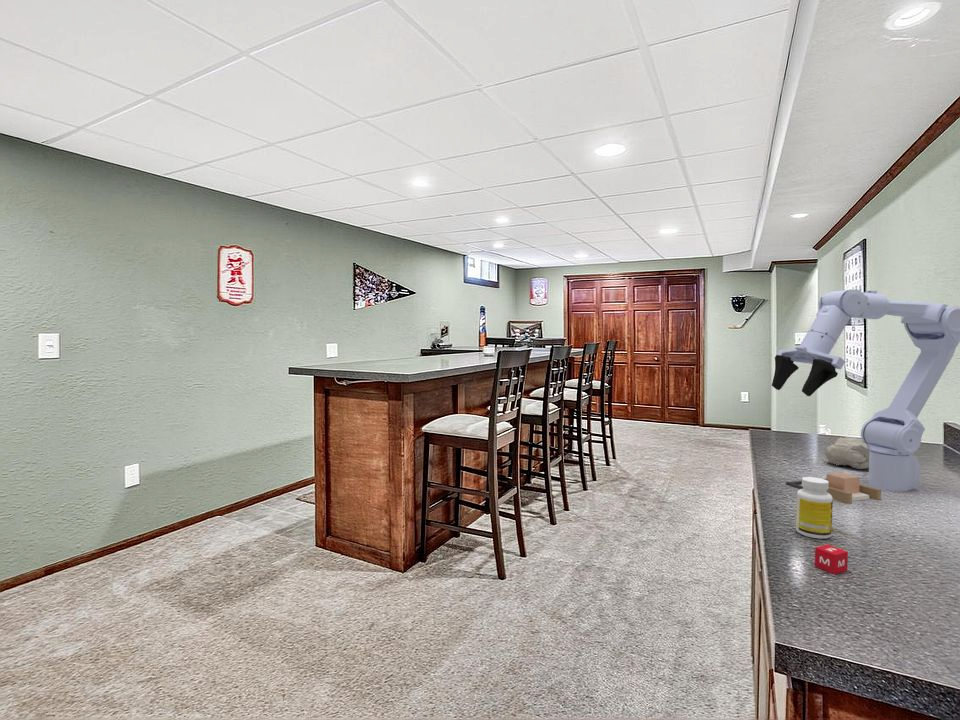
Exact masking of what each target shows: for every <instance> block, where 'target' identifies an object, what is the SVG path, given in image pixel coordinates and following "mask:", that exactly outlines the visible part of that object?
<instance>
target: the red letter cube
mask: <svg viewBox="0 0 960 720" xmlns="http://www.w3.org/2000/svg"><path fill="white" fill-rule="evenodd" d="M814 552H815V553H814V567H816V568H818V569H821V570H823V571H825V572H828V573H830V574H832V575H838V574H841V573H845V572H848V567H849V566H848V563H849V562H848V561H849V558H848V557H849V552H848V551H847V550H844V549H841V548H838V547H836V546H833V545H830V544H824V545H820V546H816V547H814Z"/></svg>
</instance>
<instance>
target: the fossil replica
mask: <svg viewBox="0 0 960 720" xmlns="http://www.w3.org/2000/svg"><path fill="white" fill-rule="evenodd" d="M869 452H870V449H867V445H866V444H865V443H864V442H863V440H854V439H849V438H845V437H839V438H837V439H836V441H835V442H834V444H832V445H828V446H827V447H826V448H825V451H824V455H825V457H826V459H827V460H828V462H829V463H831V464H832V463H833V464H832V465H835V464H837V465H836V466H839V465H843V466H845V467H846V466H850V467H852V468H853V469H855V468H856V469H855V470H865V469H869ZM843 466H842V467H843Z"/></svg>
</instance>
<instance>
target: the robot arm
mask: <svg viewBox="0 0 960 720" xmlns="http://www.w3.org/2000/svg"><path fill="white" fill-rule="evenodd" d="M815 315H816V317H815V319H814V320H813V323H812V324H811V325H810V327H809V329H808V330H807V332H806V333H805V336H804V337H803V339H802V340H801V342H800V344H799V345H798V344H797V345H796V346H795V348H791V349H790V348H789V349H779V351H778V353H777V354H776V355H775V356H774V365H775V369H774V373H773V378H772V383H771V387H772V388H774V389H775V390H777V391H780V390H781V389H782V388H783V386H784V385H785V384H786V383H787V381H788V379H789V378H790V377H791V376H792V375H793V374H794V373H795V372H796V371H798V370H799V368H800V367H799V366H798V365H797V364H796V363H803V364H809V365H810V364H811V368H810V372H809V373H808V374H809V375H808V377H807V379H806V380H805V382H804V384H803V387H802V390H801V393H803V394H805V395H806V397H811V396H813V394H814V393H815V392H816V391H817V390H818V389H819V388H820V387H822V386H823V385H825V384H826V383H827V382H829V381H831V380H833V379H835V378H837V377H838V375H839V373H838V372H837V371H836V370H837V369H838V370H841V369H842V368H843V366H844V365H845V363H846V361H845V359H843V358H842V356H839V355H833V354H830V353H831V351H833V348H834V346H835V345H836V343H837V341H838V340H839V338H840V336H841V335H842V332H843V331H844V329H845V328H846V326H847V324H848V322H849V321H850V319H851V318H853V319H855V318H856V319H866V320H879V319H881V318H883V317H885V315H886V316H893V317H900V318H901V320H900V323H901V324H903V326H904V329H905V331H906V332H907V335H908V336H909V338H910V339H911V340H910V341H912V344H914V346H915V347H916V348H918V349H920V353H919V355H918V356H917V358H916V359H915V362H914V364H913V365H912V367H911V368H910V370H909V372H908V374H907V375H906V377H905V378H904V380H903V382H902V384H901V385H900V387H899V389H898V391H897V393H896V394H895V395H894V397H893V399H892V401H891V402H890V404H889V406H888V407H887V408H884V409H882V410H879V411H877V412H875V413H873V415H872V417H871V418H870V419H869V420H868V421H866V422H865V423H864V424H863V425H862V427H861V430H860V438H861V441H863V442H864V443H865V444H866V445H867V449H870V452H869V467H868V483H867V484H868V486H870V487H874V488H877V489H881V491H882V490H883V491H888V492H897V493H899V492H902V493H903V492H908V491H911V490H917V491H921V492H924V490H923V489H920V471H921V470H920V468H921V464H920V461H919V460H918V458H917V456H916V455H915V453H916V452H917V451H918V449H919V448H920V446H921V444H922V436H923V434H924V432H925V430H926V428H925V426H924V425H923V422H921V421H920V420H919V418H918V417H919V415H920V413H921V411H922V410H923V408H924V407H925V405H926V403H927V402H928V400H929V398H930V396H931V394H932V393H933V391H934V389H935V388H936V387H937V384H938V383H939V381H940V379H941V377H942V376H943V374H944V372H945V370H946V369H947V366H948V365H949V363H950V362H951V360H952V358H953V356H954V354H955V352H956V348H957V347H958V345H959V344H960V306H956V305H953V306H949V304H946V303H938V302H928V301H914V300H913V301H912V300H911V301H909V300H891V299H890V300H889V298H888V297H887V296H886V295H884V294H882V293H878V290H874V289H873V290H866V291H864V292H862V291H861V290H860V289H858V288H856V289H855V288H854V289H852V288H851V289H845V290H836V291H835V290H834V291H829V292H827V293H826V294H825V295H824V296H822V297H821V296H820V298H819V299H818V309H817V312H816V314H815ZM794 362H796V363H794Z"/></svg>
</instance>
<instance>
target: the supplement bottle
mask: <svg viewBox="0 0 960 720" xmlns="http://www.w3.org/2000/svg"><path fill="white" fill-rule="evenodd" d="M801 481H802V484H801V486H802V487H803V489H798V491H797V492H796V505H795V506H796V507H795V509H796V510H795V531H796V532H797V533H798V534H800V535H803V536H805V537H807V538H812V539H818V540H819V539H822V540H823V539H826V540H827V539H830V538H831V537H832V534H833V532H832V531H833V529H832V527H833V501H834V500H833V498H832V496H831V495H830V494H829V493H827V490H828V488H829V482H828V481H827V480H824V479H821V478H819V477H813V476H804V477H802V478H801Z"/></svg>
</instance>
